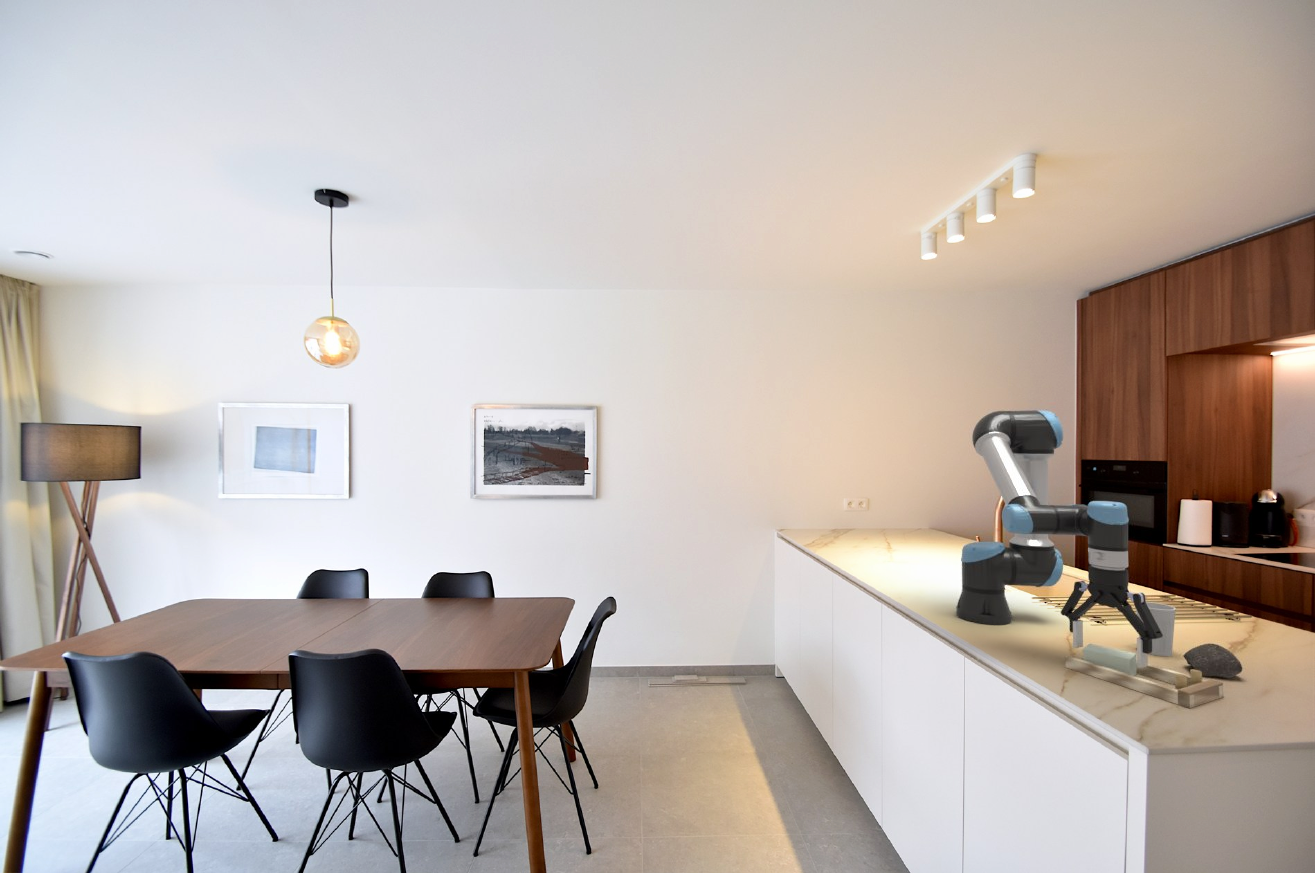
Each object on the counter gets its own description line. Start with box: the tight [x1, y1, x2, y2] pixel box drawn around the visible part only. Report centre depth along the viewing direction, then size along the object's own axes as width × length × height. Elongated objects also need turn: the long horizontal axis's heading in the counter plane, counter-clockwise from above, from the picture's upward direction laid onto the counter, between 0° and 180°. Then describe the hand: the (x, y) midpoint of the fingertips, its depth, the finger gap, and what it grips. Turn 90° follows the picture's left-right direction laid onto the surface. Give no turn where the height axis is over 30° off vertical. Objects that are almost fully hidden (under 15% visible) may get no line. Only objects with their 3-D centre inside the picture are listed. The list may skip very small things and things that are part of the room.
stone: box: [1182, 643, 1243, 680], centre depth 135 cm, size 10×8×10 cm
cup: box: [1135, 601, 1177, 658], centre depth 150 cm, size 8×8×12 cm
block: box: [1082, 643, 1138, 677], centre depth 136 cm, size 9×6×5 cm, turn 40°
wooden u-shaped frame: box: [1065, 655, 1224, 709], centre depth 131 cm, size 24×13×5 cm, turn 24°
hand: (1108, 656), depth 137 cm, fingers open, 13 cm apart
